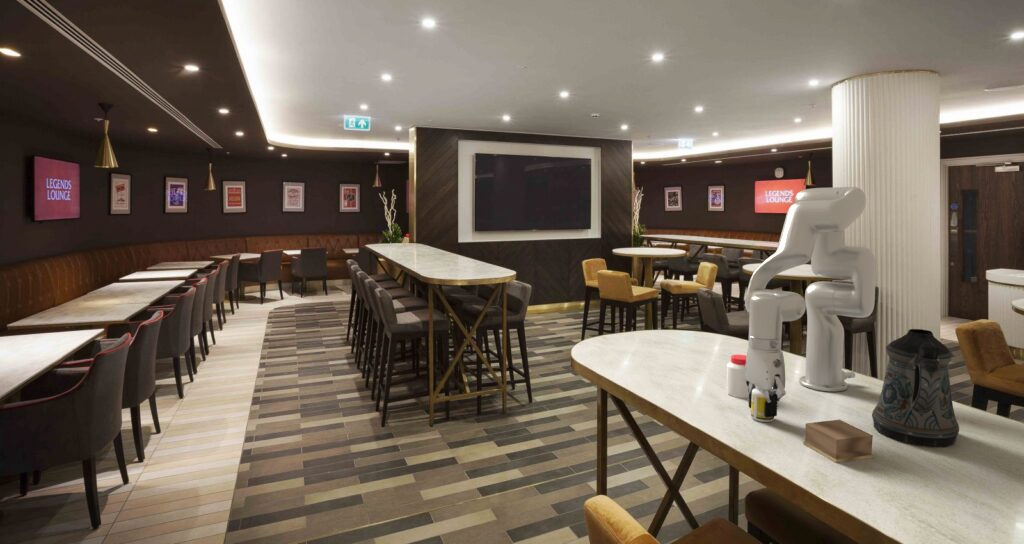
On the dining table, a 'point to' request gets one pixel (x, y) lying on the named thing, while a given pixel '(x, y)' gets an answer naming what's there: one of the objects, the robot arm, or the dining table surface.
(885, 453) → the dining table surface
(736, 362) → the pill bottle
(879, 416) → the patterned ceramic jug
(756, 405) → the supplement bottle
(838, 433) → the walnut riser
